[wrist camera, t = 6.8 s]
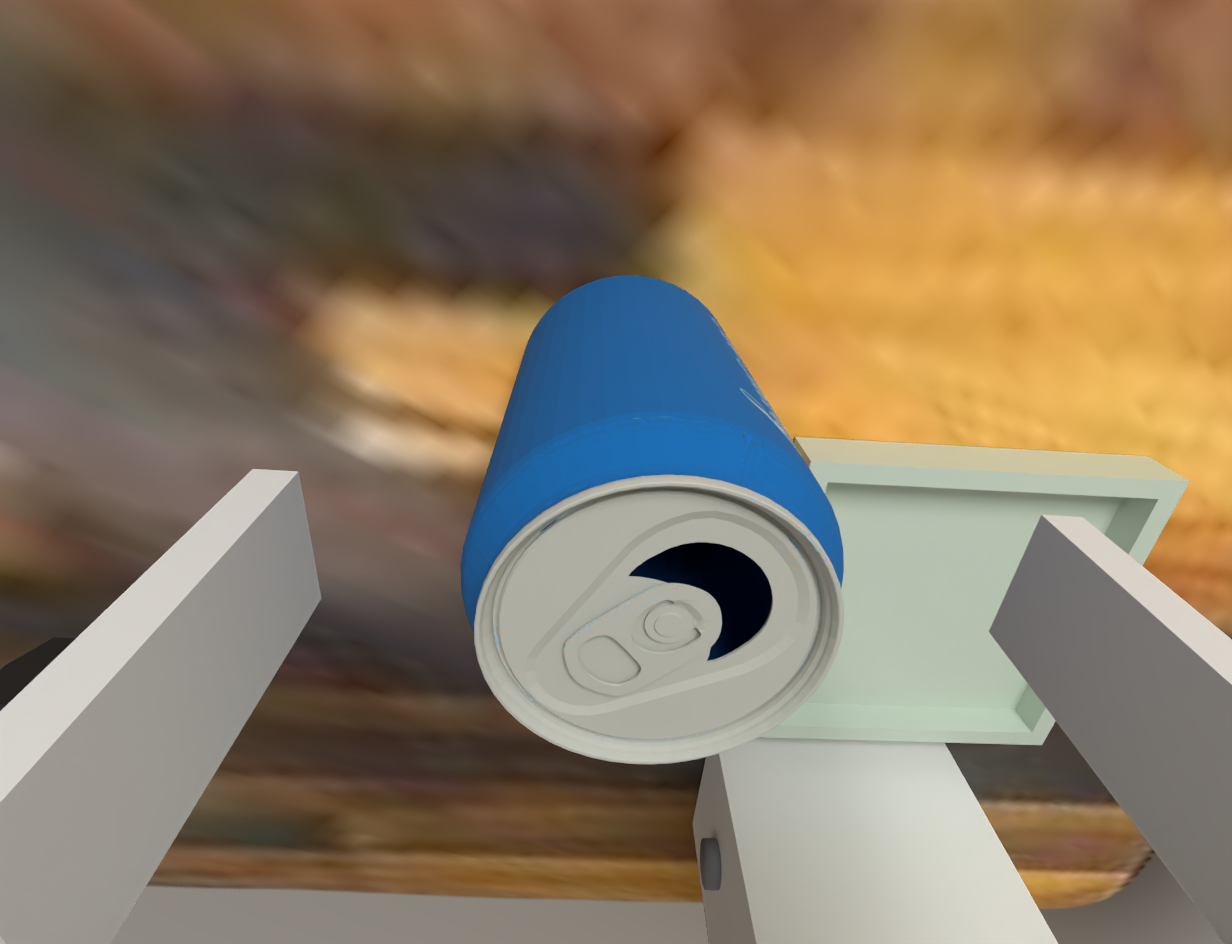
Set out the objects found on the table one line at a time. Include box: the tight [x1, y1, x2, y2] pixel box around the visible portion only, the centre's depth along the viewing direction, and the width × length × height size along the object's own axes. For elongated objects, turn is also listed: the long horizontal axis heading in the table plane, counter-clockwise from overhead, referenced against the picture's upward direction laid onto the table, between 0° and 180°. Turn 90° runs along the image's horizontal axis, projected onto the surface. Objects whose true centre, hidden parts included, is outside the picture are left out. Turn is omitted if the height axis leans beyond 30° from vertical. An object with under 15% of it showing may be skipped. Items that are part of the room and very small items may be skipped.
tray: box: [759, 437, 1190, 745], centre depth 24 cm, size 12×12×2 cm
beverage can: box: [461, 275, 844, 764], centre depth 15 cm, size 6×6×12 cm
